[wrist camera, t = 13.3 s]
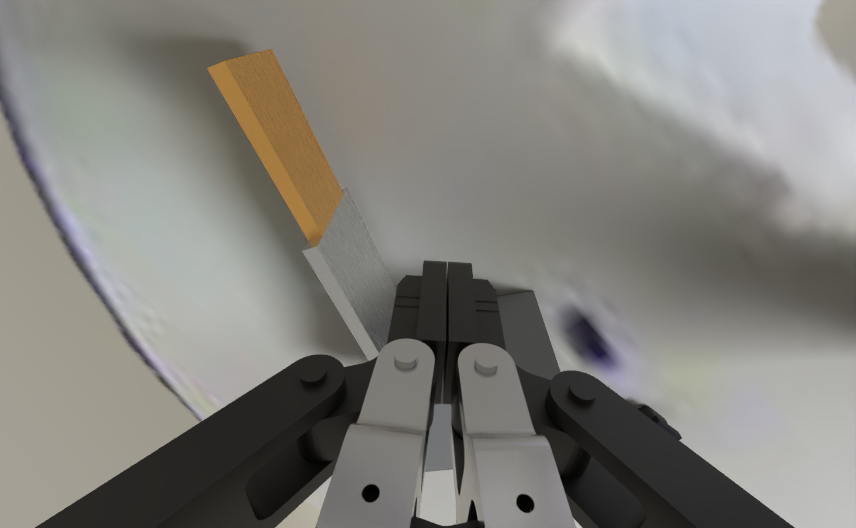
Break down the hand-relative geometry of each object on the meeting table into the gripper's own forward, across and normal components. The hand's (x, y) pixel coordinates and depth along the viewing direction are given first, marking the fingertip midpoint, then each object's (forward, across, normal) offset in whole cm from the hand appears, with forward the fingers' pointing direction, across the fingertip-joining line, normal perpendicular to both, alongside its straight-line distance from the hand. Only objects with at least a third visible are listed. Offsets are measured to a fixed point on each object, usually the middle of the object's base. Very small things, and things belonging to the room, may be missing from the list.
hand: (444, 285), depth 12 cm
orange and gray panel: (+13, +6, +3) cm, 14 cm away
